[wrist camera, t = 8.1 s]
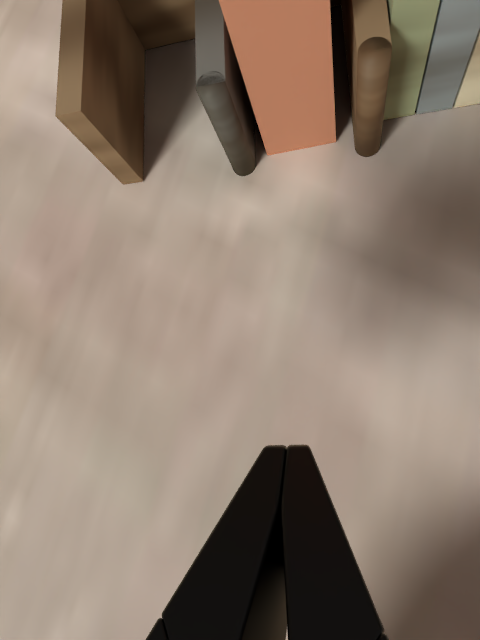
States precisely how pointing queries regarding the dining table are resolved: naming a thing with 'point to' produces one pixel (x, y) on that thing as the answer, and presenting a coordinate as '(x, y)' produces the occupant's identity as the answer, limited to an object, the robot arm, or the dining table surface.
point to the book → (286, 68)
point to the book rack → (227, 81)
